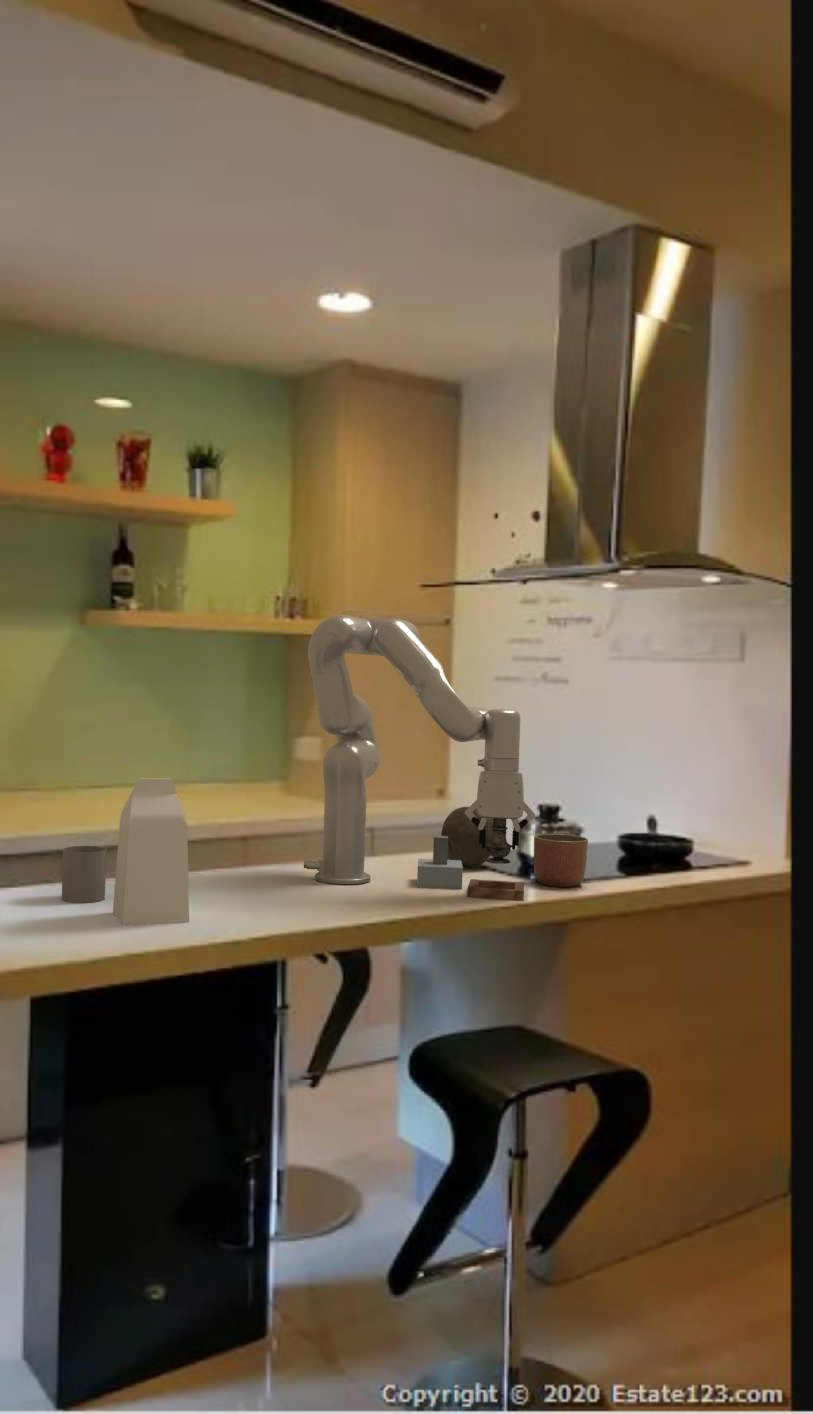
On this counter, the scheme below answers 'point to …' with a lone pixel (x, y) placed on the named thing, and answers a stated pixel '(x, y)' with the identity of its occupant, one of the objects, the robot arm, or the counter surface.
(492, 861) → the salt shaker
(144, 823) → the milk
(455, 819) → the dark brown ball
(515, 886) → the socket board
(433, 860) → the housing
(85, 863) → the cup
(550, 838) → the planter
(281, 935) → the counter surface
